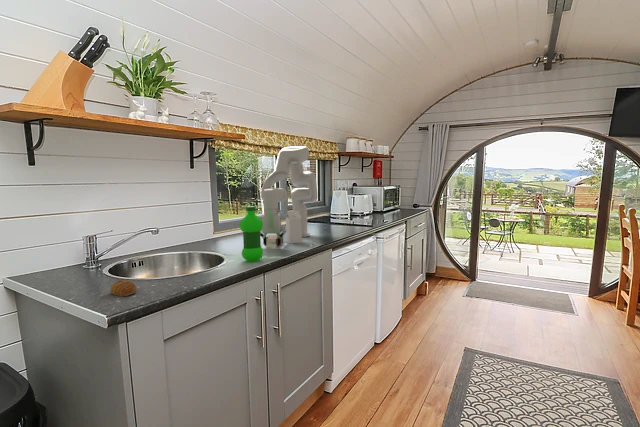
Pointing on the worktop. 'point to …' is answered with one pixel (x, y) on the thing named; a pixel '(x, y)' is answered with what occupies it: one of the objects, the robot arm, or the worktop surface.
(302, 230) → the robot arm
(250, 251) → the plastic bottle
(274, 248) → the blueprint board
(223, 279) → the worktop surface
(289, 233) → the milk carton
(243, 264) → the worktop surface
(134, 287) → the pastry
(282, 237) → the walnut base block
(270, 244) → the cream cube
